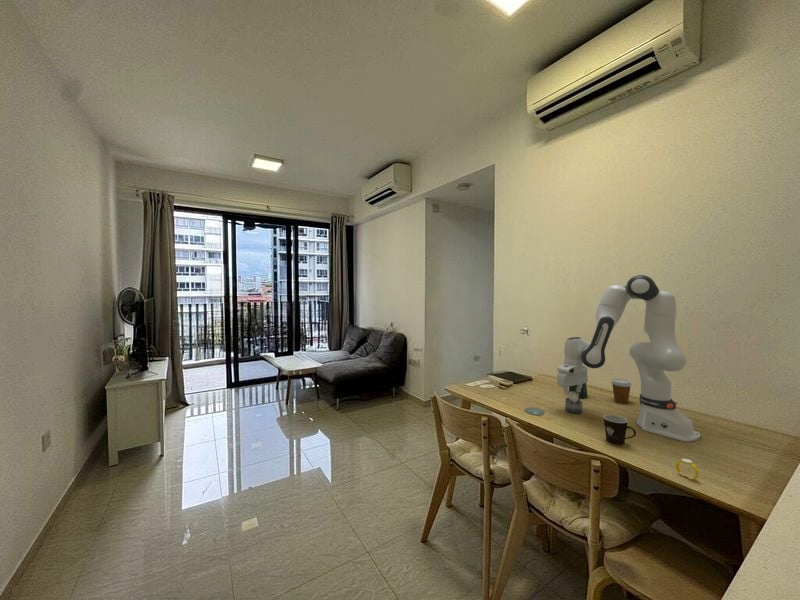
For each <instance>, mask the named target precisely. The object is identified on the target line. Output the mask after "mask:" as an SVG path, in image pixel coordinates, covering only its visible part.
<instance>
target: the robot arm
mask: <svg viewBox="0 0 800 600" xmlns="http://www.w3.org/2000/svg"><path fill="white" fill-rule="evenodd" d="M634 299H635V300H643V301H644V302H645V303H644V304H645V314H644V323H643V330H644V332H645V333H646V334H647V336H648V338H649V339H648V340H649V341H637V342H635V343H633V344H632V345H631V346H630V348H629V355H630V357H631V358H632V360H633V362H634V363H635V365H636V367H637V370H638V374H639V378H640V393H639V406H640V407H639V414H638V417H637V420H636V421H635V422H636V424H637V425H638V426H639V427H640V428H641V429H642V431H646V432H647V433H653V434H655V435H660V436H663V437H666V438H670V439H674V440H677V441H681V442H684V443H685V442H689V443H690V442H695V441H698V440H699V439H700V438H701V433H700V432H699V431H696V430H694V429H695V428H694V425H693V422H692V420H691V419H690V418H688V416H686V415H685V414H684V413H682V412H681V410H679V409H678V408H677V405H678V403H679V402H678V401H674V400H673V399H672V382H671V380H670V378H668V376H667V375H666V373H665V372H680V371H682V370H683V369H684V368H685V367H686V365H687V361H688V359H687V356H686V355H685V353H684V352H683V351H682V350H681V348H680V347H679V344H678V342H677V338H676V332H675V331H676V330H675V329H676V317H677V301H676V296H675V295H674V294H673V293H672V292H670V291H667V290H660V289H659V288H658V286H657V284H656V282H655V281H654V280H653V278H652V277H650V276H648V275H644V274H638V275H635V276H632V277H631V278H630V279H628V280H627V282H626V284H624V285H621V284H612V285H611V284H610V285H609V286H608V287H607V288H606V289H605V290H604V293H603V294H602V296H601V298H600V300H599V303H598V306H597V310H596V313H595V314H596V315H595V319H596V321H595V322H596V327H595V330H594V333H593V337H592V340H591V342H589V341H587V340H585V339H584V338H582V336H581V337H580V336H573V337H569V338H567V339H566V340H565V343H564V348H563V349H564V350H563V351H564V353H563V355H564V360H563V363H562V364H560V365H559V366H557V371H558V372H557V376H556V377H557V378H556V384H557V385H558V387H561V388H562V390H563V391H564V392H563V394H564V395H567V396H569V386H574V385H578V386H577V388H576V392H581V388H582V384H584V383H586V384H587V383H588V380H589V379H588V377H589V376H588V370H587V371H586V368H589V369H590V368H591V369H599V368H601V367H603V366H604V365H605V363H606V352H605V351H606V347H607V344H608V340H609V338H610V336H611V333H612V331H613V330H614V329H615V327H616V325H617V324H618V323H619V322H620V320H621V318H622V316H623V314H624V311H625V309H626V307H627V304H628V302H629V301H630V300H634ZM585 367H586V368H585Z"/></svg>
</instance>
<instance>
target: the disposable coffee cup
mask: <svg viewBox="0 0 800 600" xmlns="http://www.w3.org/2000/svg"><path fill="white" fill-rule="evenodd" d="M611 385H612V390H613V392H612V393H613V398H614V402H616V403H618V404H624V405H625V404H628V403H629V398H630V393H631V387H632V382H631V381H630V380H628V379H624V378H623V379H620V378H612V380H611Z"/></svg>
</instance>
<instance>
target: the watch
mask: <svg viewBox="0 0 800 600" xmlns="http://www.w3.org/2000/svg"><path fill="white" fill-rule="evenodd" d="M680 463H683V464H685V465H690V467H692V468H693V470H694V471H695V476H694V478H693V477H692V479H693V480H696V479H697V478H699V476H700V472H699V469H698V466H696V465H695V464H694V463H693V460H691V459H687V458H681V460H678V461H676V463H675V469H676V472H677V473H678V472H682V471H681V468H680Z"/></svg>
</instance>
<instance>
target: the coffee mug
mask: <svg viewBox="0 0 800 600" xmlns="http://www.w3.org/2000/svg"><path fill="white" fill-rule="evenodd" d="M602 416H603V417H602V418H603V425H604V431H605V439H606V441H608V442H607V443H609V444H611V443H612V444H611V445H614V444H615V445H614V446H624V445H625V442H626V440H627V439H628V440H629V439H632V438H634V437H636V435H637V433H636V430H635V429H634V428H633V427H632V426H628V419H627V418H626V417H624V416H621V415H615V414H604V415H602ZM628 429H629V430H630V429H631V430H632V431H633V435H632V436H631V435H630V436H627V435H626V434H627V430H628ZM626 436H627V437H626ZM623 444H624V445H623Z"/></svg>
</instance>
